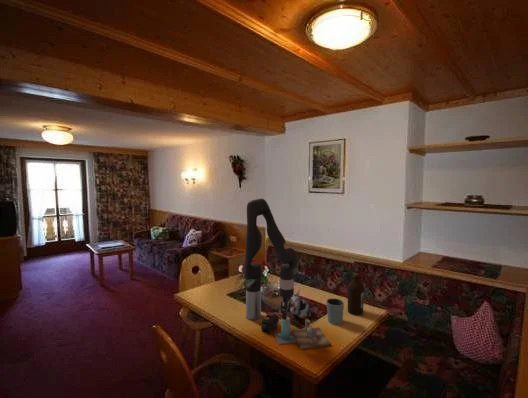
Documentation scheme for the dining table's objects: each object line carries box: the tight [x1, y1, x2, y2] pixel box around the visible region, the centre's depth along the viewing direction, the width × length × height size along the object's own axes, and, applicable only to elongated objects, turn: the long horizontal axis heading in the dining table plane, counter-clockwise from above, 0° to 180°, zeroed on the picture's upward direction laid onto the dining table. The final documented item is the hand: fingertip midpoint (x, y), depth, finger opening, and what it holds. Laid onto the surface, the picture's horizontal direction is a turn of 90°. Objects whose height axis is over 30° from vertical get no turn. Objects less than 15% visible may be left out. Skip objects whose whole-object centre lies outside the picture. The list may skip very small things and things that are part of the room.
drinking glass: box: [326, 297, 345, 326], centre depth 169 cm, size 10×10×12 cm
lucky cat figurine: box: [290, 293, 312, 320], centre depth 176 cm, size 15×12×14 cm
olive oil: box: [346, 272, 366, 316], centre depth 179 cm, size 11×11×25 cm
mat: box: [273, 330, 298, 346], centre depth 151 cm, size 10×10×1 cm
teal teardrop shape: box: [278, 316, 294, 340], centre depth 150 cm, size 9×5×11 cm, turn 71°
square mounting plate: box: [291, 318, 332, 350], centre depth 150 cm, size 16×16×8 cm
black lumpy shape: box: [260, 313, 280, 334], centre depth 160 cm, size 10×7×7 cm
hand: (286, 315), depth 150 cm, fingers open, 8 cm apart
